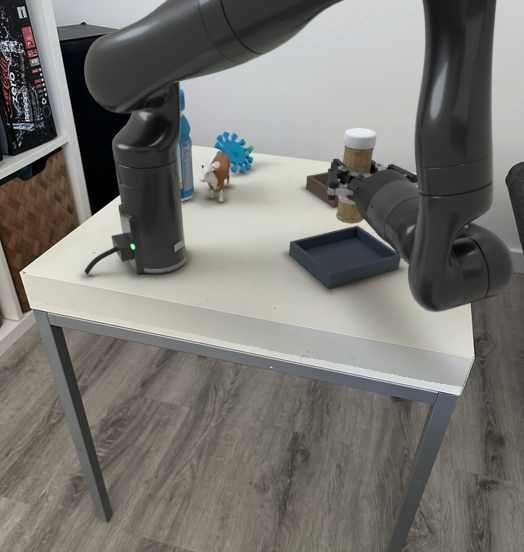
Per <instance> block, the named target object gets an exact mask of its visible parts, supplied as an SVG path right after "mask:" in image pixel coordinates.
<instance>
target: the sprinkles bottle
mask: <svg viewBox="0 0 524 552" xmlns="http://www.w3.org/2000/svg"><path fill="white" fill-rule="evenodd" d="M376 142H377V133H376V131H374V130H373V129H370V128H363V127H355V128H348V129H347V130H346V131H345V132H344V141H343V145H344V150H343V158H342V163H343V164H344V165H345V166H346V167H347V168H349V169H352V168H356V169H358V170H360V171H362V172H364V173H369V174H370V167H371V161H372V160H373V159H372V158H373V153H374V150H375V147H376V144H377V143H376ZM345 179H346V178H345ZM335 218H336V219H337V220H338V221H339V222H342V223H345V224H350V225H352V224H359V223H362V222H363V221H364V218H363V217H362V216H361V215H360V213H359V211H358V209H357V207H356V204H355V202H354V201H351V200H349V199H348V198H347V196H346V195H339V202H338V207H337V211H336V215H335Z"/></svg>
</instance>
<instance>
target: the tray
mask: <svg viewBox="0 0 524 552" xmlns="http://www.w3.org/2000/svg"><path fill="white" fill-rule="evenodd" d="M288 253H289V254H288V255H289V256H290V257H291V258H292V259H294V260H295V261H296V262H297V263H298V264H299V265H301V266H302V267H303V268H304V269H305V270H306V271H307V272H308V273H310V274H311V275H312V276H313V278H315V279H316V280H317V281H319V283H321V284H322V285H323V286H324V287H325V288H326V289H329V290H330V289H331V288H337V287H339V286H344V285H347V284H349V283H353V282H357V281H360V280H363V279H367V278H371V277H373V276H377V275H381V274H384V273H388V272H391V271H395V270H399V268H400V263H401V259H402V258H401V257H400V256H399V255H398V254H397V253H396V251H395V250H394V249H393V248H392V247H391V246H389V245H387V244H385V242H383V241H381V240H380V239H378V238H377V237H375V236H373V235H372V234H371V233H369V232H368V231H367V230H365V229H363V228H362V227H361V226H359V225H352V226H349V227H345V228H341V229H336V230H333V231H329V232H324V233H320V234H315V235H311V236H307V237H304V238H298V239H295V240H291V241H289V251H288Z"/></svg>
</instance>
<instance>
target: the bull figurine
mask: <svg viewBox="0 0 524 552" xmlns="http://www.w3.org/2000/svg"><path fill="white" fill-rule="evenodd" d="M230 170H231V164H230V161H229V158H228V156H227V155H225V154H224V153H223V152H222V151H221V153H220V154H218V155H216V154H215V156H214V157H213V159H212V160H211V163H210V164H204V165H203V164H202V165H201V176H200V177H199V181H200V182H202V183H207V185H208V187H209V191H210V195H209V199H210V200H214V199H215V196H216V195H215V191H217V190H218V188H219V191H218V192H219V197H218V202H219V203H224V195H223V194H224V189H225V187H226V189H227V188H229V189H230V188H231V181H230ZM225 180H226V183H225Z"/></svg>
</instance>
